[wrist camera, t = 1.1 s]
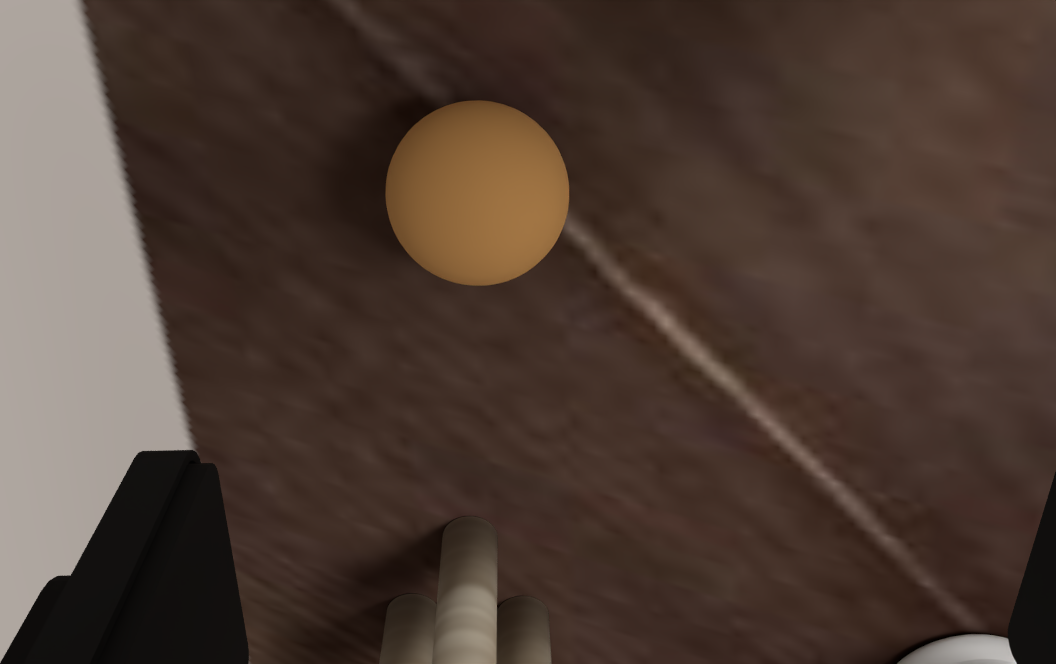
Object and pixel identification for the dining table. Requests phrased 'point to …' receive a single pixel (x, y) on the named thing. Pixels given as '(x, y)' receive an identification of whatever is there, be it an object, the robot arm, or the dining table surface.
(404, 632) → the pin
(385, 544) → the dining table surface
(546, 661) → the pin
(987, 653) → the jar
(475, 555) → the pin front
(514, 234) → the ball
